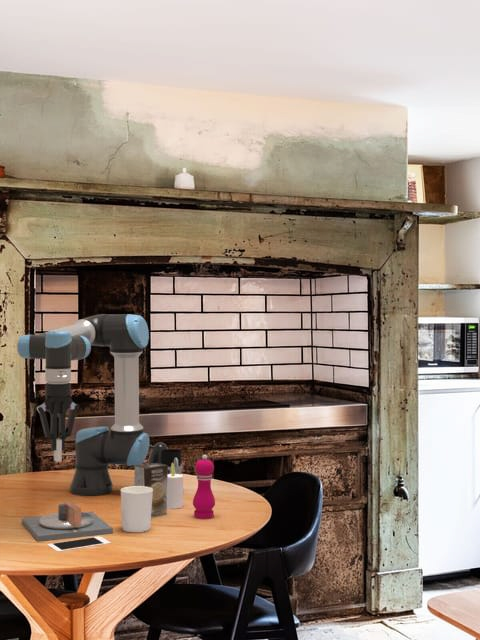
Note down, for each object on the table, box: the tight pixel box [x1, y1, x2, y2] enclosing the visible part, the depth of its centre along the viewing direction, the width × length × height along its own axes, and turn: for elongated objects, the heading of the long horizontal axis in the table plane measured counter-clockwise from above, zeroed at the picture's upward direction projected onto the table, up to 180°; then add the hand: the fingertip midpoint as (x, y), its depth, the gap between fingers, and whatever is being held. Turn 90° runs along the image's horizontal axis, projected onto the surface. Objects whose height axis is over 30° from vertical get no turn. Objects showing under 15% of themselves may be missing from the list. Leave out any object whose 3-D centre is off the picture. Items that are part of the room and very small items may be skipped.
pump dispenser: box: [147, 441, 169, 464], centre depth 316 cm, size 10×10×15 cm
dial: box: [39, 501, 94, 529], centre depth 245 cm, size 18×16×6 cm
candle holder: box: [119, 485, 153, 533], centre depth 247 cm, size 10×10×12 cm
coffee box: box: [133, 463, 168, 518], centre depth 265 cm, size 9×6×16 cm
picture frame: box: [160, 448, 183, 475], centre depth 296 cm, size 9×14×15 cm, turn 18°
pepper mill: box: [192, 454, 216, 520], centre depth 263 cm, size 7×7×20 cm
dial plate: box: [21, 511, 114, 542], centre depth 246 cm, size 22×22×2 cm
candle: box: [167, 463, 184, 510], centre depth 276 cm, size 6×6×15 cm
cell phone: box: [47, 535, 112, 553], centre depth 230 cm, size 8×16×1 cm, turn 125°
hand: (57, 460), depth 244 cm, fingers closed
